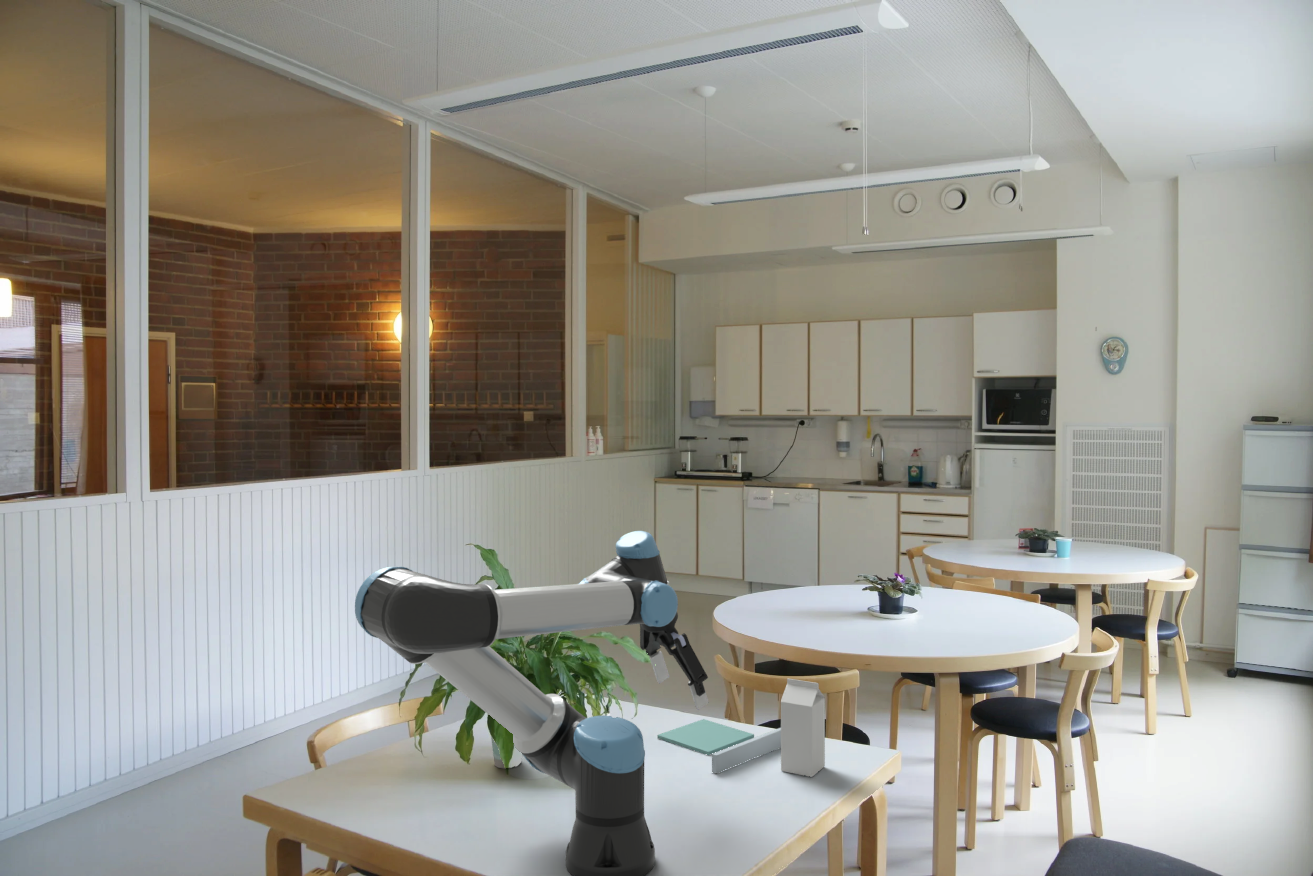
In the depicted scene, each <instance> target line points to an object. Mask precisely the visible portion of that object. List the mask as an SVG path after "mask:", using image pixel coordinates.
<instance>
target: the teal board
mask: <svg viewBox="0 0 1313 876" xmlns="http://www.w3.org/2000/svg"><path fill="white" fill-rule="evenodd" d="M658 738H659V740H661V739H662V741H665V742H667V743H671V744H673V745H677V746H679V747H682V748H685V749H688V750H691V751H694V750H695V751H694V752H697V753H701V754H702V755H703V754H704V755H705V754H707V755H706V756H710V754H711V755H712V753H715V752H718V751H720V750H722V749H726V748H728V747H731V746H733V745H736V744H739V743H742V742H744V741H747V740H750V739H752V738H755V734H754V733H751V732H747V731H744V730H740V729H737V728H735V727H732V726H727V725H726V724H725V725H724V724H721V723H718V722H714V721H711V720H708V719H705V718H703V719H700V720H697V721H694V722H692V723H689V724H685V725H683V726H679V727H676V728H674V729H671V730H668V731H665V732H663V733H660V734H659V733H658V734H657V739H658Z"/></svg>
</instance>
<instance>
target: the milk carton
mask: <svg viewBox="0 0 1313 876" xmlns="http://www.w3.org/2000/svg"><path fill="white" fill-rule="evenodd" d="M786 682H787V683H786V686H785V688H784V691H783V694H782V697H781V700H780V728H781V748H780V764H781V765H780V770H781V771H782V772H787V773H789V774H790V773H791V774H795V775H800V776H804V775H806V776H805V777H809V776H810V778H813V777H814V776H816V774H818V771H819V772H820V771H821V770H822V769H824V767H826V761H825V760H826V754H825V753H826V745H825V744H826V739H825V738H826V737H825V736H826V732H825V730H826V729H825V728H826V727H825V726H826V723H825V722H826V721H825V719H826V715H825V711H826V710H825V708H826V707H825V705H826V704H825V703H826V701H825V696H824V694H823V692H822V691H821V689H819V685H820V684H819V682H815V681H814V682H813V681H807V680H806V681H805V680H802V679H800V680H799V679H794V678H793V679H792V678H787V679H786Z"/></svg>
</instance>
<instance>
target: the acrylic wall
mask: <svg viewBox="0 0 1313 876" xmlns="http://www.w3.org/2000/svg"><path fill="white" fill-rule="evenodd" d="M776 749H777V750H779V749H781V727H778V728H776V729H773V730H771V731H768V732H766V733H763V734H760V735H757V736H754V738H752V739H750V740H747V741H744V742H742V743H739V744H737V745H734V746H731V747H729V748H726V749H724V750H721V751H718V752H716V753H713V754H711V773H712V772H713V773H712V774H714V773H718V774H720V773H719V772H721V771H723V770H725V769H728V768H730V767H733V766H735V765H738V764H740V763H742V764H744V763H743V762H745V761H747V760H749V759H752V758H754V757H757V756H760V755H762V756H764V755H767V754H770V753H771V751H772V752H774V751H776ZM773 750H774V751H773ZM766 753H767V754H766ZM763 754H764V755H763ZM760 757H761V756H760ZM757 758H758V757H757ZM752 760H753V759H752ZM747 762H748V761H747ZM745 763H746V762H745ZM740 765H741V764H740ZM738 766H739V765H738ZM735 767H736V766H735ZM733 768H734V767H733ZM730 769H731V768H730ZM728 770H729V769H728ZM725 771H726V770H725ZM723 772H724V771H723ZM721 773H722V772H721Z"/></svg>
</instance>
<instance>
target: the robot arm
mask: <svg viewBox="0 0 1313 876" xmlns="http://www.w3.org/2000/svg"><path fill="white" fill-rule="evenodd" d="M615 552H616V556H615V557H614V558H612V559H611V560H609V561H608V562H607V563H606V564H604V565H602V566H601V567H600V568H599V569H597V570H595V571H594V572H593V573H591V574H589V575H588V576H587V577H584V578H583V579H582V580H581V581H580V582H579V583H574V584H573V583H572V584H561V585H560V584H556V585H544V586H543V585H542V586H530V587H529V586H528V587H516V588H515V587H513V588H503V589H502V588H501V589H500V588H499V589H493V588H492V587H491V586H490V585H489V584H486V583H477V584H475V583H474V584H473V583H472V584H470V583H460V582H459V583H458V582H453V581H449V580H445V579H441V578H438V577H436V576H435V577H434V576H431V575H428V574H424V573H420V572H417V571H414V570H412V569H410V568H408V567H404V566H387V567H383V568H380V569H378V570H376V571H374V572H372V573H371V574H370V575H369V576H368V577H367V578H366V579H365V580H364V581H363V582H362V583H361V585H360V587H359V589H358V591H357V594H356V596H355V600H354V601H355V602H354V613H355V618H356V620H357V623H358V624H359V626H360V627H361V629H362V630H363V631H364V632H365V633H366V634H367V635H369V636H370V637H372V638H376V639H379V640H380V641H382V642H383V643H384V644H386V645H387V646H388V647H390V648H391V649H392V650H393V651H394V652H396V653H397V654H398V655H399V656H401V657H402V658H403V659H404V660H406V661H407V662H409V664H412V665H419V664H422V663H425V664H426V665H427V666H428V667H430V668H431V669H432V670H433V671H435V672H436V673H437V674H438V675H440V676H441V677H442V678H443V679H445V681H447V682H448V683H449V684H451V685H452V686H453V687H454V688H456V690H458V691H459V692H460V693H461V694H462V695H464V696H465V697H466V698H468V699H469V700H470V701H471V702H472V703H474V704H475V705H476V706H477V707H479V708H480V709H481V711H484V713H486V714H487V716H488V715H490V716H491V717H492V718H493V719H495V720H496V721H497V722H498V723H499V724H501V725H502V726H503V727H504V728H506V729H507V730H508V731H509V732H510V733H512V734H513V743H514V746H515V748H516V749H517V750H518V751H519V752H521V753H522V757H524V759H525V760H526V762H527V763H528V764H529V765H530V766H531V767H532V768H534V769H535V770H537V771H538V772H540V773H542V774H546V775H548V776H549V777H552V778H553V779H555V780H557V781H559V782H560V783H562V784H564V785H566V786H567V787H569V788H571V789H573V790H574V791H575V792H574V794H575V798H574V799H575V818H574V819H575V820H574V823H573V827H572V831H571V834H570V835H571V836H570V838H569V839H570V840H569V842H568V844H567V846H566V849H565V868H566V870H567V871H568V872H569V873H570V874H571V875H572V876H645V875H648V873H649V872H651V871H652V870H653V868H654V866H655V864H656V849H655V844H654V842H653V840H652V837H651V833H650V829H649V827H648V824H647V821H646V818H645V755H646V750H645V746H644V737H643V733H642V730H641V729H640V728H639V727H638V726H637V724H635V723H633V722H632V721H630V720H628V719H625V718H623V717H618V716H617V717H613V716H611V715H595V716H590V717H586V716H584V715H583V714H582V713H580V712H579V711H577V710H576V709H575V708H574V707H573V706H572V705H571V704H570V703H568V701H566V700H565V699H564V698H563V697H561V696H560V695H559V694H556V693H547V694H545V693H544V692H542V691H541V690H540V689H539V688H538V687H536V685H534V684H533V683H532V682H531V681H529V679H528V678H526V677H525V676H524V675H523V674H522V673H521V672H520V671H518V670H517V669H516V668H515V667H514V666H513V665H512V664H511V663H509V662H508V661H507V660H506V659H504V657H502V656H501V655H500V654H499V653H497V652H496V651H495V650H494V649H493V648H492V647H491V645H493V643H494V642H495V641H496V640H500V639H508V638H517V637H528V636H535V635H545V634H555V633H563V632H573V631H581V630H590V629H591V630H593V629H601V628H609V627H618V626H631V625H639V644H640V645H639V647H640V649H641V650H642V651H644V650H645V654H646V655H647V656H649V657H648V658H649V661H650V665H651V667H652V669H653V673H654V677H655V679H656V682H657V683H658V684H661V683H663V682H664V681H666V680H668V679H669V678H670V673H669V671H668V666H667V663H666V661H665V658H664V655H663V654H664V653H663V652H662V651H661V650H660V649H662V647H663V648H664V649H665V650H666V652H667V653H668V655H670V656H673V658H674V660H675V661H676V662H677V664H678V666H679V667H680V669H681V670H682V672H683V673H684V674H685V677H687V680H688V682H687V685H688V687H689V689H690V694H691V697H692V700H693V703H694V707H695V709H696V710H697V711H699V710H701V709H702V708H703V707H705V706H706V705H708V704H709V703H710V702H709V698H708V696H707V693H706V692H707V691H706V688H705V686H704V682H705V681H706V680H707V679H708V678H709V677H708V675H707V673H706V671H705V669H704V667H703V665H702V664H701V662H700V660H699V658H698V656H697V654H696V653H695V650H694V649H693V647H692V645H691V643H690V639H689V638H688V635H687V634H686V633H685V632H683V633H682V634H679V631H678V630H677V628H676V627H675V626H676V623H677V621H678V618H679V613H678V606H679V604H678V603H679V601H678V600H679V599H678V595H677V593H676V591H675V589H674V588H673V587H672V586H671V585H670V581H668V578H667V575H666V572H665V568H664V565H663V561H662V557H661V554H660V550H659V548H658V546H657V542H656V540H655V538H654V536H653V535H652V534H651V533H650V532H648V531H644V530H635V531H631V532H628V533H625V534H624V535H622V536H621V537H619V538H618V541H616V542H615ZM661 646H662V647H661ZM647 653H648V654H647ZM655 664H656V666H655Z"/></svg>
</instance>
